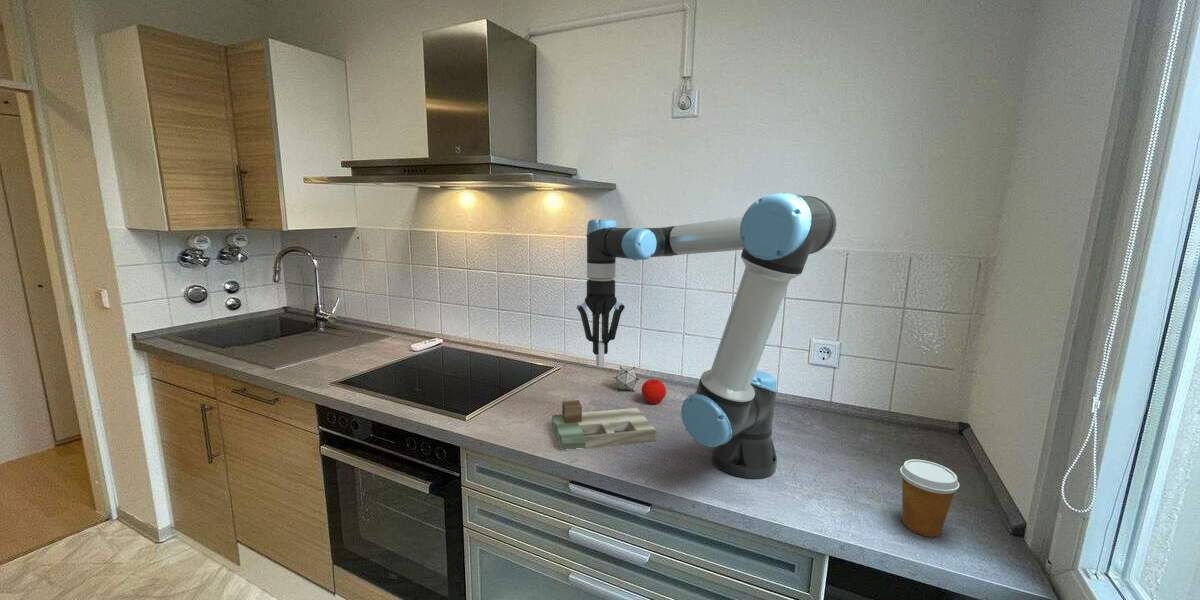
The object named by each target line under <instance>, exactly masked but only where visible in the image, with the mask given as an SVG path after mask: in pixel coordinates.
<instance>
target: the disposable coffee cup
mask: <svg viewBox="0 0 1200 600" xmlns="http://www.w3.org/2000/svg"><path fill="white" fill-rule="evenodd" d="M899 472H900V474H901V477H902V478H901V485H902V487H901V492H902V493H901V494H902V497H901V499H902V500H901V502H902V505H901V507H902V509H901V511H902V513H901V515H902V520H901V521H902V524H903V525H905V526H906V527H905V526H904V527H905V528H906V529H908V530H909V529H910V530H909V531H911V532H912V531H913V532H912V533H915V534H917V533H918V534H917V535H919V534H921V535H920V536H922V535H924V536H923V537H927V536H929V538H935V537H934V536H936V537H939V536H940V535H941V532H942V529H943V526H944V524H945V521H946V519H947V516H948V515H947V514H948V512H949V511H950V506H951V504H952V500H953V498H954V496H955V492H956V491H958V489H959V487H960V482H959V481H958V476H957V474H956V473H955V472H953V471H952V470H951V469H950V468H948V467H946V466H944V465H941V464H939V463H936V462H933V461H930V460H924V459H909V460H906V461H904V463H903V465H902V466H901V467H900V469H899Z"/></svg>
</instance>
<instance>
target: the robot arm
mask: <svg viewBox="0 0 1200 600" xmlns="http://www.w3.org/2000/svg"><path fill="white" fill-rule="evenodd" d="M746 209H747V210H746V211H745V213H744V214H743V216H738V217H731V218H729V217H728V218H725V219H723V218H722V219H716V220H708V221H702V222H701V221H700V222H693V223H688V224H687V223H686V224H681V225H680V224H679V225H671V226H664V227H617V221H616V220H614V219H590V220H589V221H588V222H587V230H586V235H585V236H586V277H587V278H588V279H587V280H586V296H585V299H584V302H583V303H581V304H577V305H576V310H577V311H578V312H579V314H580V319H581V322H582V327H583V330H584V331H583V332H584V335H585V339H586V340H587V341H589V342H592V352H593V354H594V355H596V357H595V358H596V359H595V361H596V362H595V365H596V366H597V367H598V368H604V367H605V355H607V354H608V353H609V350H608V349H609V347H608V346H609V343H610V341H614V340H615V339H616V334H617V332H618V326H619V323H620V319H621V314H622V313H623V312H624V309H625V307H626V306H625V305H624V304H622V303H621V302H618V300H617V296H616V280H615V278H616V259H617V258H620V259H627V260H633V261H642V260H649V259H650V258H657V257H658V258H659V257H673V256H679V255H680V256H681V255H682V256H683V255H695V254H707V253H716V252H717V253H718V252H721V253H722V252H733V251H742V252H741V254H740V259H741V260H742V262H743V264H744V266H745V267H744V271H743V273H742V274H743V275H742V277H741V279H740V282H739V286H738V288H737V290H736V291H737V292H736V295H735V297H734V301H733V303H732V306H731V308H730V309H731V310H730V312H729V315H728V318H727V321H726V323H725V327H724V330H723V334H722V336H721V339H720V343H719V344H718V347H717V350H716V353H715V356H714V359H713V362H712V365H711V368H710V369H707V370H706V371H703V372H702V374H701V376H700V378H699V381H698V385H697V387H696V390H695V392H694V393H692V394H690V395H688V396H687V397H686V398H685V399H684V400H683V402H682V404H681V409H680V417H681V420H682V423H683V425H684V427H685V430H686V432H687V434H689V436H690V437H691V439H693V440H694V441H696V442H697V443H699V444H700V445H702V446H705V447H709V448H712V450H711V461H712V463H713V464H714V465H715V466H716V467H717V468H718V469H719V470H722V471H723V472H725V473H727V474H730V475H732V476H735V477H741V478H746V479H763V478H768V477H769V476H772V475H774V473H776V471H777V467H778V464H777V463H778V458H777V454H776V453H777V452H776V450H775V446H774V445H775V444H774V440H773V436H772V435H773V426H774V416H775V406H776V405H775V404H776V398H777V393H778V390H777V380H776V378H775V377H774V376H773V375H771V374H769V373H767V372H764V371H761V370H759V369H758V370H757V368H758V366H759V363H760V360H761V358H762V356H763V352H764V350H765V348H766V345H767V341H768V339H769V336H770V334H771V331H772V328H773V326H774V323H775V321H776V318H777V315H778V312H779V310H780V307H781V305H782V302H783V299H784V297H785V294H786V292H787V289H788V286H789V283H790V281H791V280H793V279H795V278H798V277H799V276H801V275H802V273H803V271H804V268H805V266H806V263H807V260H808V258H809V256H810V255H813V254H816V253H818V252H820V251H821V250H823V249H824V248H825V247H827V245H829V244H830V243H831V241H832V239H833V238H834V236H835V233H836V231H837V218H836V214H835V212H834V210H833V209H832V207H831V206H830V205H829V204H828V203H827V202H826V201H825V200H823V199H821V198H818V197H816V196H812V195H811V196H810V195H800V194H794V193H793V194H792V193H786V192H780V193H774V194H768V195H765V196H763V197H762V196H761V198H758V199H757V200H755V201H754V202H753V203H752V204H751V205H750V206H749V207H748V208H746ZM613 308H614V311H613V314H612V319H611V323H609V321H610V319H609V318H610V312H611V311H612V309H613ZM588 309H589V310H590V312H591V316H592V330H591V325H590V323H589V319H588V318H589V317H588V314H587V311H588ZM600 318H601V340H600ZM609 324H610V325H609Z"/></svg>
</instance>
